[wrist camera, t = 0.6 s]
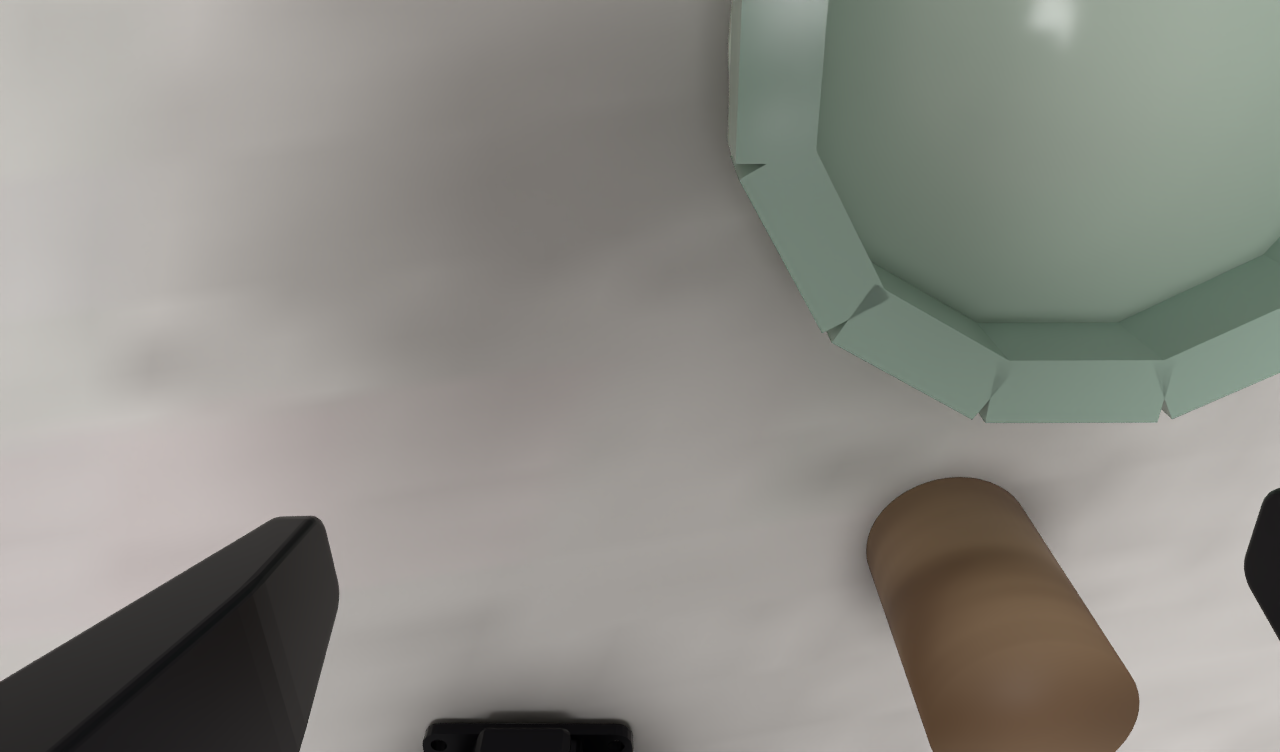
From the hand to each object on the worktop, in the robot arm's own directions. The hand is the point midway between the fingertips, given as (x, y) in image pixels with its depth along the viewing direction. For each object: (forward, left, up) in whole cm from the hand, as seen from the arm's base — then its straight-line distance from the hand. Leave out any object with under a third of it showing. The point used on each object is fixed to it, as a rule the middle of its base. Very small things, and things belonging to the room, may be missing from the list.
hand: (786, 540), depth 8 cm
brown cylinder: (-10, -7, -13) cm, 17 cm away
